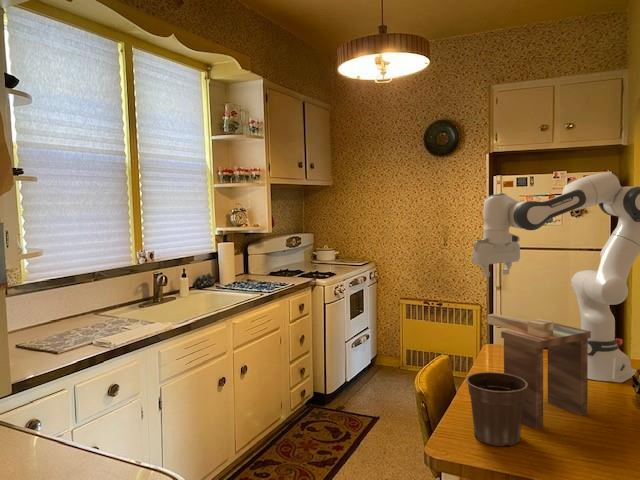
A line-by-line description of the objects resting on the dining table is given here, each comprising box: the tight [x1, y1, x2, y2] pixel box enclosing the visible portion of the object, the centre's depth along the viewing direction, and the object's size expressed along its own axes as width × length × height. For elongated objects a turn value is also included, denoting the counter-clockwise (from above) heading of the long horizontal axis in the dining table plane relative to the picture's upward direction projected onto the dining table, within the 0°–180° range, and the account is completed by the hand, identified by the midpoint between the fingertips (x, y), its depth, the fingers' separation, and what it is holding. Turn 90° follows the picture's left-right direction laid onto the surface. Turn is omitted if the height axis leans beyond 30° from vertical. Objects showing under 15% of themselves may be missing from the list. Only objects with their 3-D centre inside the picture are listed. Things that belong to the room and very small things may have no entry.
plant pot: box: [465, 371, 528, 447], centre depth 137 cm, size 16×16×16 cm
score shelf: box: [500, 322, 591, 430], centre depth 151 cm, size 22×14×26 cm, turn 115°
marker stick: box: [486, 313, 554, 338], centre depth 153 cm, size 5×21×4 cm, turn 30°
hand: (496, 275), depth 180 cm, fingers open, 8 cm apart
